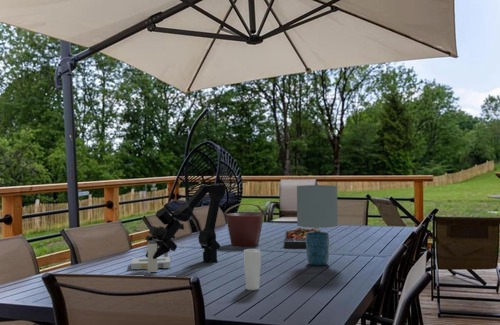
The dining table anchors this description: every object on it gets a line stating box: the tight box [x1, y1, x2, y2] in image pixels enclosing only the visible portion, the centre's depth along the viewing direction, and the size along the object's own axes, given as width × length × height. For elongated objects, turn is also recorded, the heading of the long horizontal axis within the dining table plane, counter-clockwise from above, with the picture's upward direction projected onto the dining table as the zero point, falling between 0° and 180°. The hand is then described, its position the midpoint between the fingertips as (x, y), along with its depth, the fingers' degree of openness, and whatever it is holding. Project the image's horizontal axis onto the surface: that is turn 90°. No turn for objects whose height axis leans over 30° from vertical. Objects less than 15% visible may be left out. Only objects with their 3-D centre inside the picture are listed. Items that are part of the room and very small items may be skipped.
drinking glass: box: [242, 248, 262, 291], centre depth 188 cm, size 7×7×15 cm
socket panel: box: [130, 256, 171, 270], centre depth 233 cm, size 18×14×3 cm
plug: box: [147, 240, 158, 273], centre depth 221 cm, size 4×4×14 cm
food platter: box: [283, 227, 315, 249], centre depth 303 cm, size 45×25×10 cm, turn 175°
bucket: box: [224, 203, 266, 248], centre depth 295 cm, size 24×22×25 cm
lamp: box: [296, 184, 339, 267], centre depth 234 cm, size 19×19×38 cm
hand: (149, 257), depth 220 cm, fingers closed on plug, 5 cm apart
